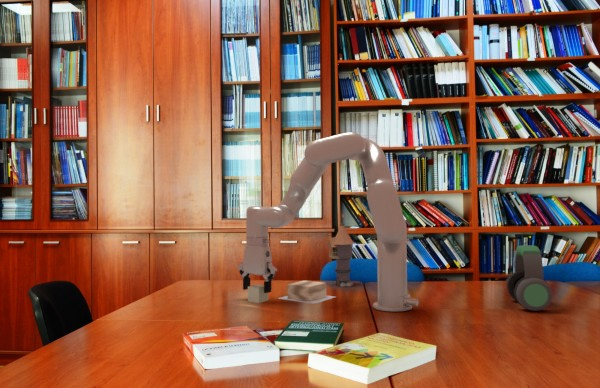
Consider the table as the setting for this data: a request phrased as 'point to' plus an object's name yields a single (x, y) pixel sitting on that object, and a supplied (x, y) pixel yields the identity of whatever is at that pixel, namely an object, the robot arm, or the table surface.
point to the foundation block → (306, 290)
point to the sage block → (257, 294)
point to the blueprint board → (308, 301)
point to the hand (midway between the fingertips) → (257, 290)
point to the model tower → (341, 255)
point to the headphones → (529, 280)
